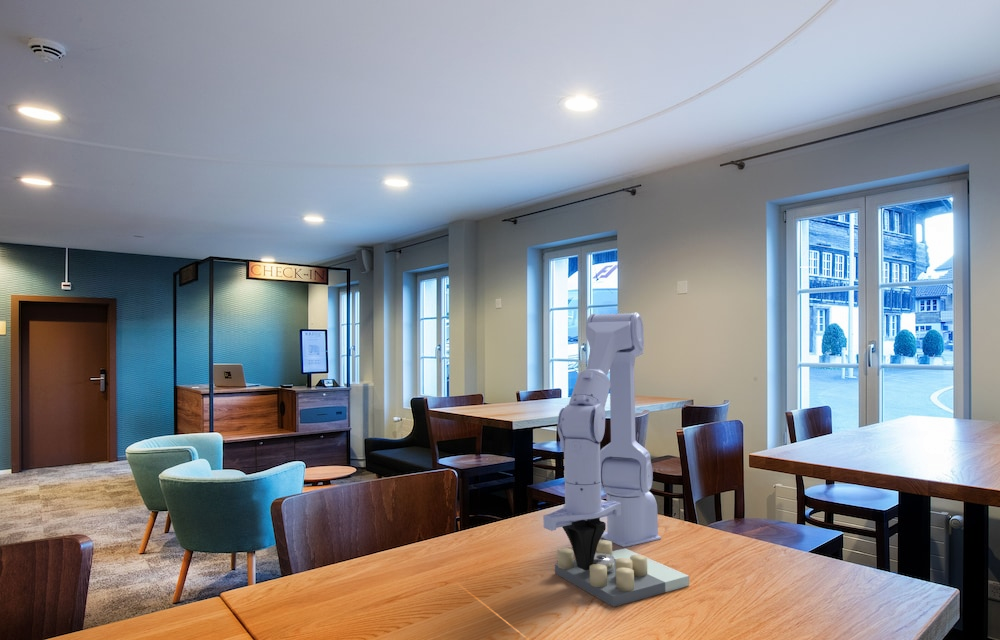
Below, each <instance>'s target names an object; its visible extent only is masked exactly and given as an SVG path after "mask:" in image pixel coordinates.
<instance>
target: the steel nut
mask: <svg viewBox="0 0 1000 640" xmlns="http://www.w3.org/2000/svg"><path fill="white" fill-rule="evenodd" d="M593 564H602V565H605V566H606V567H607V574H611V573H613V572H614V557H613V556H612V555H610V554H606V553H597V552H595V556H594V561H593ZM589 570H590V569H589Z"/></svg>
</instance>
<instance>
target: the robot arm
mask: <svg viewBox="0 0 1000 640" xmlns="http://www.w3.org/2000/svg"><path fill="white" fill-rule="evenodd" d="M643 322H644V321H643V319H642V316H641V315H640V314H639V312H636V311H634V312H631V313H629V312H628V313H605V314H604V313H603V314H602V313H600V314H596V313H591V314H589V316H588V318H587V319H586V323H585V337H586V340H587V343H588V346H589V348H590V351H589V355H588V360H587V364H586V365H587V366H586V369H585V370H582V371H581V372H579V374H578V375H577V378H576V381H575V384H574V387H573V390H572V394H571V397H570V399H569V402H568V404H567V405H566V406H565V407H562V408H561V409H560V411H559V413H558V415H557V416H558V417H557V434H558V436H559V440H560V449H561V452H563V459H564V461H563V465H564V471H563V472H564V501H565V502H564V504H563V507H562V508H560V509H557V510H555V511H553V512H551V513H548V514H544V515H543V516H542V517H543V528H544V529H546V530H548V531H551V532H552V531H556V530H557V529H558V528H562V530H563V531H564V532H565V534H566V536H567V538H568V541H569V543H570V545H571V547H572V548H571V549H572V550H573V552H574V558H575V560H576V562H577V567H579V568H581V569H583V570H589V569H590V565H593V561H594V556H595V553H597V546H598V543H599V540H601V538H602V540H608V541H611V542H612V544H615V545H618V546H620V547H623V548H627V547H632V546H635V545H636V546H637V545H640V544H644V543H645V544H646V543H649V542H654V541H657V540H661V539H662V537H661V535H659V525H658V524H659V522H658V520H659V519H658V504H657V500H656V498H655V496H654V495H653V493H652V492H651V491H650V490H651V489H652V487H653V486H652V485H653V479H654V476H653V473H654V472H653V471H654V470H653V466H652V461H651V460H652V459H651V454H650V452H649V450H648V449H646V448H645V447H644V446H642V445H641V444H640V443H638V441H637V440H636V439H637V438H636V399H635V398H636V394H635V388H636V387H635V364H636V358H637V357H640V356H641V355H643V354H644V347H645V340H644V339H645V338H644V337H645V336H644V335H645V334H644V323H643ZM608 374H609V377H608ZM608 396H609V399H610V400H609V403H610V404H609V405H610V408H609V409H610V410H609V411H610V442H608V444H606V445H605V446H602V448H601V442H602V440H603V438H604V435H605V429H606V416H607V415H606V414H607V413H606V409H605V407H606V404H607V400H608ZM602 490H603V494H606V501H602ZM601 518H602V519H603V518H606V522H605V521H602V520H600V519H601ZM606 530H607V531H606Z"/></svg>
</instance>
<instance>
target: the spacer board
mask: <svg viewBox="0 0 1000 640" xmlns="http://www.w3.org/2000/svg"><path fill="white" fill-rule="evenodd" d="M596 553H606V554H610V555H612V556H613V557H614V572H613V573H611V574H607V567H606V566H605V565H602V564H593V565H590V570H583V569H581V568H579V567H577V562H576V559H574V558H575V555H574V551H573V548H567V547H563V548H558V549H557V563H555V564H554V574H555V575H557V576H558V577H561V578H562V579H564V580H566V581H568V583H569V582H570V583H571V584H573V585H574V586H576V587H578V588H580V589H582V590H584V592H586V593H589V594H591V595H592V596H594V597H595V598H596V599H597V598H598V599H599V600H601V601H603V602H604V603H606V604H608V605H610V606H611V607H613V608H616V607H618V606H622V605H626V604H629V603H633V602H635V601H639V600H643V599H646V598H650V597H654V596H657V595H661V594H664V593H668V592H671V591H675V590H678V589H682V588H685V587H689V586H690V575H688V574H687V573H686V574H685V573H684V572H681V571H679V570H677V569H674V568H673V567H670V566H667V565H665V564H662V563H661V562H658V561H656V560H653V559H651V558H649V557H647V556H646V555H643V554H640V553H637V552H634V551H633V550H630V549H627V547H623V548H620V549H617V550H613V542H611V541H608V540H606V539H600V540H599V543H598V546H597V549H596Z"/></svg>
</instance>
